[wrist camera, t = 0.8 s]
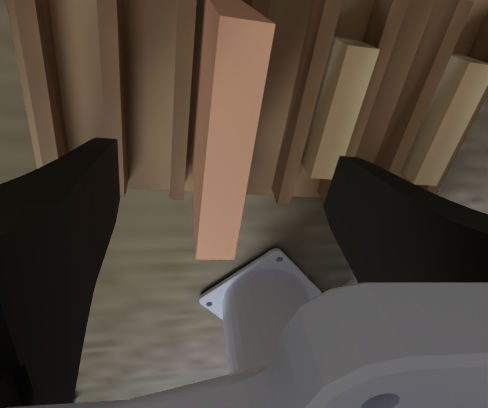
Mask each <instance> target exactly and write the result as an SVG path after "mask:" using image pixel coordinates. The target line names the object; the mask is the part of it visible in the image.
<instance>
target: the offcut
mask: <svg viewBox="0 0 488 408" xmlns="http://www.w3.org/2000/svg"><path fill="white" fill-rule="evenodd" d="M379 51H380V49H378V48H376V47H373V46H371V45H369V44H367V43H365V42H362V41H360V40H358V39H355V38H348V37H341V36H335V35H334V36H333V40H332V44H331V48H330V52H329V56H328V59H327V63H326V67H325V71H324V75H323V79H322V83H321V86H320V90H319V94H318V98H317V102H316V106H315V110H314V113H313V117H312V121H311V125H310V129H309V133H308V137H307V140H306V144H305V148H304V152H303V156H302V160H301V163H302V164H303V166H304V168H305V170H306V171H307V173H308V175H309V176H310V178H316V179H332V178H333V175H334V172H335V168H336V165H337V162H338V159H339V156H345V154H346V151H347V148H348V145H349V142H350V139H351V136H352V133H353V130H354V127H355V124H356V121H357V118H358V115H359V112H360V109H361V106H362V103H363V100H364V97H365V94H366V90H367V87H368V84H369V81H370V78H371V75H372V72H373V69H374V66H375V63H376V60H377V57H378V54H379Z"/></svg>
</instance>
